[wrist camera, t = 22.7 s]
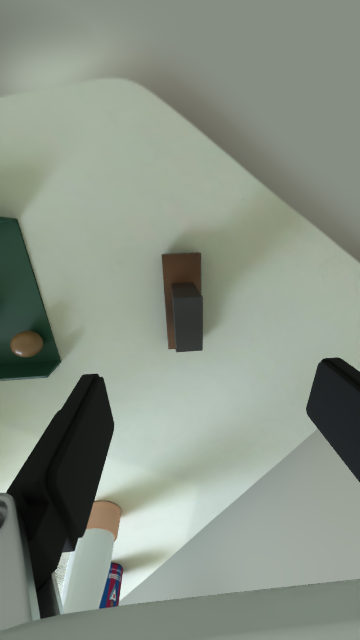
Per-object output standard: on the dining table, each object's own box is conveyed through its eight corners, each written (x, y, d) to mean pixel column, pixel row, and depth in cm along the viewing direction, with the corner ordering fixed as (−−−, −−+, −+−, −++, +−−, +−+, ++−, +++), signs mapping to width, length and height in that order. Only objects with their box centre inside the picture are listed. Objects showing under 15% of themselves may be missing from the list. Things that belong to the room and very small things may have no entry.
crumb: (22, 326, 24) (-3, 341, 21) (40, 325, 23) (16, 339, 21) (36, 347, 25) (13, 363, 23) (53, 346, 24) (32, 362, 22)
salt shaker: (128, 508, 38) (96, 738, 21) (107, 526, 40) (61, 752, 23) (95, 496, 36) (27, 739, 19) (74, 515, 38) (-5, 754, 20)
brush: (162, 253, 22) (159, 259, 15) (198, 251, 22) (213, 257, 15) (168, 343, 26) (169, 380, 19) (199, 341, 26) (210, 377, 19)
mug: (129, 568, 47) (123, 619, 41) (100, 583, 49) (90, 634, 43) (107, 559, 45) (97, 611, 39) (78, 576, 47) (64, 628, 41)
